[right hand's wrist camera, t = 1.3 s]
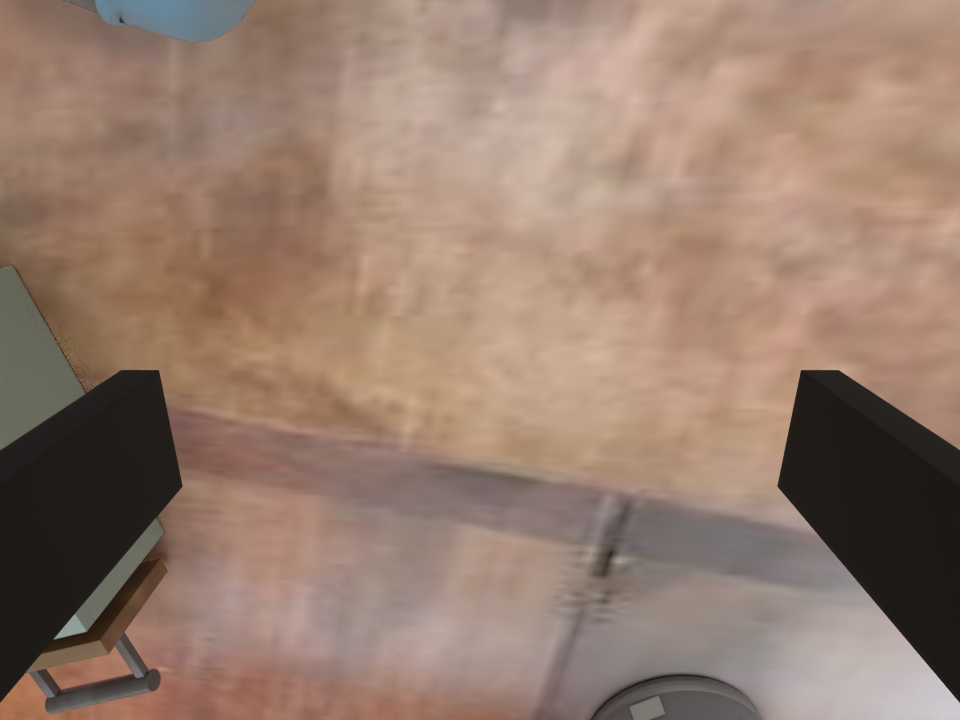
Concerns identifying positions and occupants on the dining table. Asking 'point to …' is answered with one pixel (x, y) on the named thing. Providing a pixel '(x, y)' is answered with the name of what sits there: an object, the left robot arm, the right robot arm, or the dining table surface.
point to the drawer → (103, 649)
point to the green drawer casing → (48, 414)
